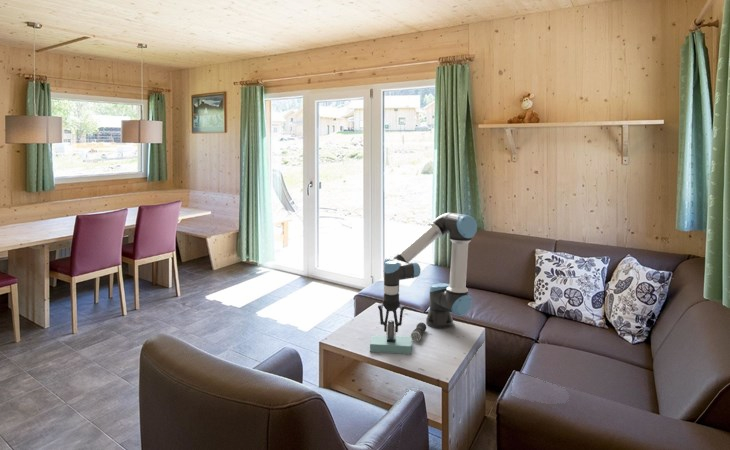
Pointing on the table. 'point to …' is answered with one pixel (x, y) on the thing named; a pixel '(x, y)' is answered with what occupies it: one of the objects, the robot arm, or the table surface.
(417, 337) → the flashlight
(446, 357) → the table surface
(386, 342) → the hole block
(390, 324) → the peg
